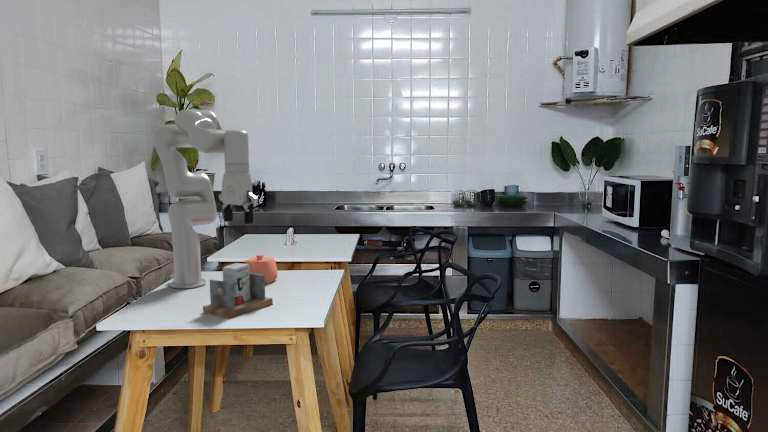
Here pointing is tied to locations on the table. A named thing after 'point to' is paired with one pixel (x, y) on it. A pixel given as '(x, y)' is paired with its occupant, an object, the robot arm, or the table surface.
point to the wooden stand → (225, 298)
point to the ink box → (238, 281)
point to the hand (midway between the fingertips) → (238, 222)
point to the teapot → (263, 267)
